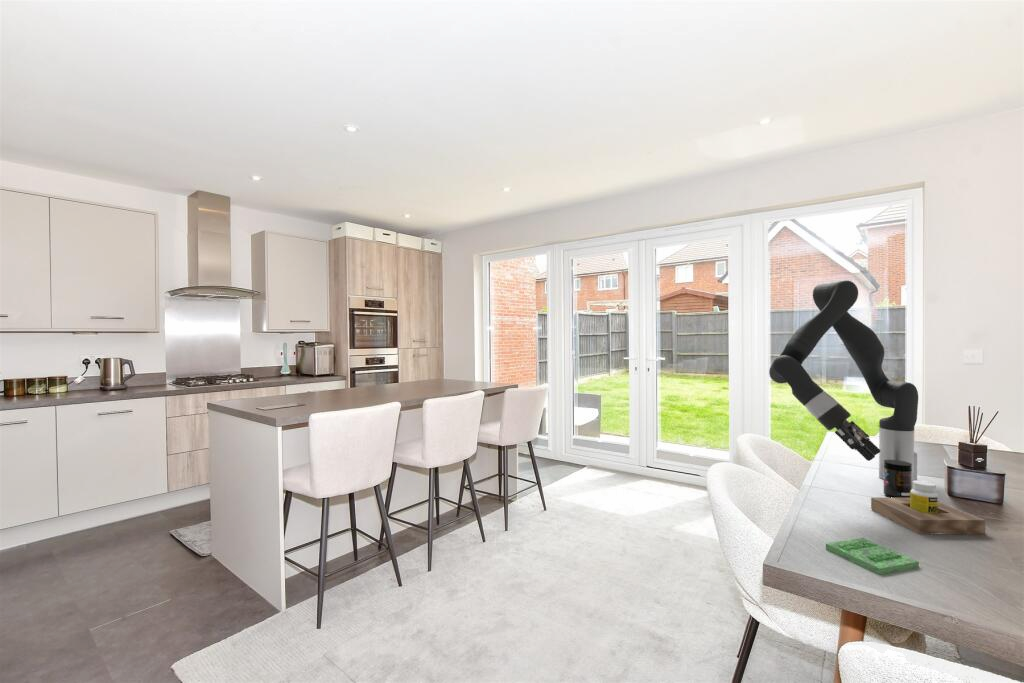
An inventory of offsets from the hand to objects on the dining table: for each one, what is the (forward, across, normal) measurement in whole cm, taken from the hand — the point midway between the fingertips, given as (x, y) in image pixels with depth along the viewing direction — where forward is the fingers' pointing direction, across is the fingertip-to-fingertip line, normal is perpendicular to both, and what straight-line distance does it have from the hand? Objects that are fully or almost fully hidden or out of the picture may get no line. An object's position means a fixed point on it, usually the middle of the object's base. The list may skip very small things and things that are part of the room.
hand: (875, 456), depth 131 cm
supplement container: (+13, +19, +9) cm, 25 cm away
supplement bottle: (+18, 0, +4) cm, 18 cm away
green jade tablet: (+14, -35, +8) cm, 39 cm away
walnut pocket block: (+18, 0, +3) cm, 19 cm away
